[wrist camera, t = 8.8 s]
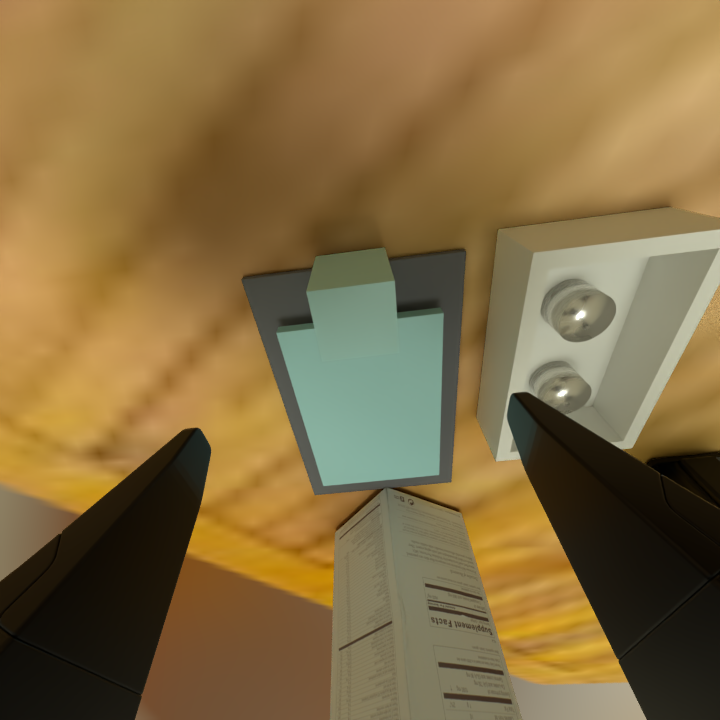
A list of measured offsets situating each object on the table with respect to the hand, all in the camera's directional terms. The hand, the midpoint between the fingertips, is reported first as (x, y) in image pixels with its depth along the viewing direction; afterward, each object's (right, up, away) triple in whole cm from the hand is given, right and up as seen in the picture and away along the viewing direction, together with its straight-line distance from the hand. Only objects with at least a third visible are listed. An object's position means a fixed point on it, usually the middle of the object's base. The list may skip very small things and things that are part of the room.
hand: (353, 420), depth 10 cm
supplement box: (+4, -14, +23) cm, 27 cm away
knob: (+13, +1, +12) cm, 18 cm away
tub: (+12, +3, +11) cm, 17 cm away
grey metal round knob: (+12, +5, +9) cm, 16 cm away
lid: (+1, 0, +13) cm, 13 cm away
